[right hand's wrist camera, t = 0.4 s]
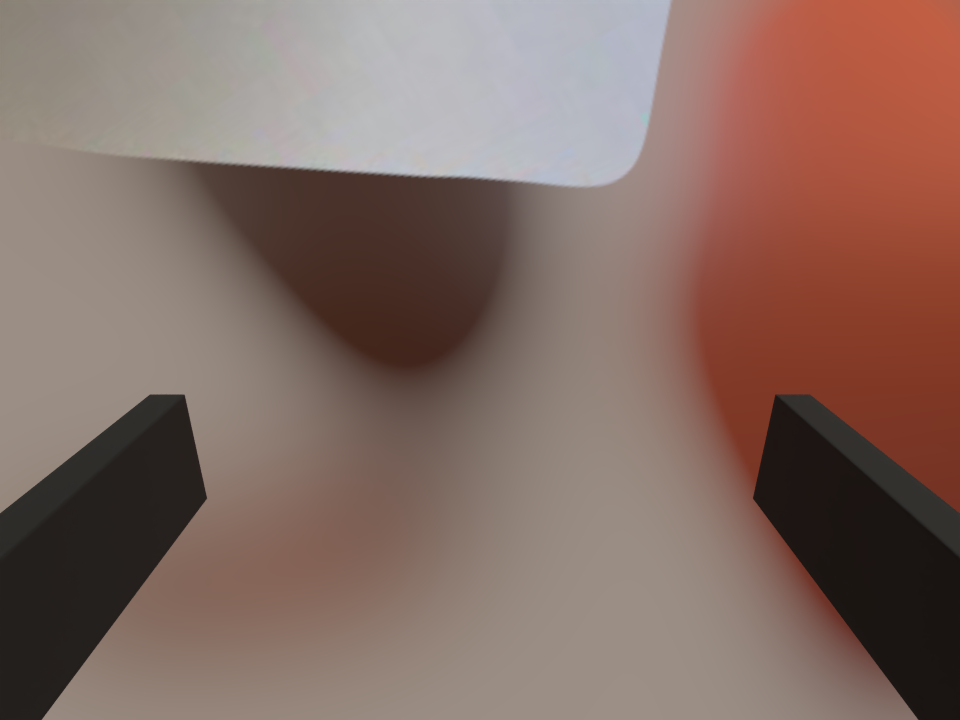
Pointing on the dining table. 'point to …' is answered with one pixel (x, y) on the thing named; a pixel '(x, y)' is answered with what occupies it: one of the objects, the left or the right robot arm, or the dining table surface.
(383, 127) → the dining table surface
